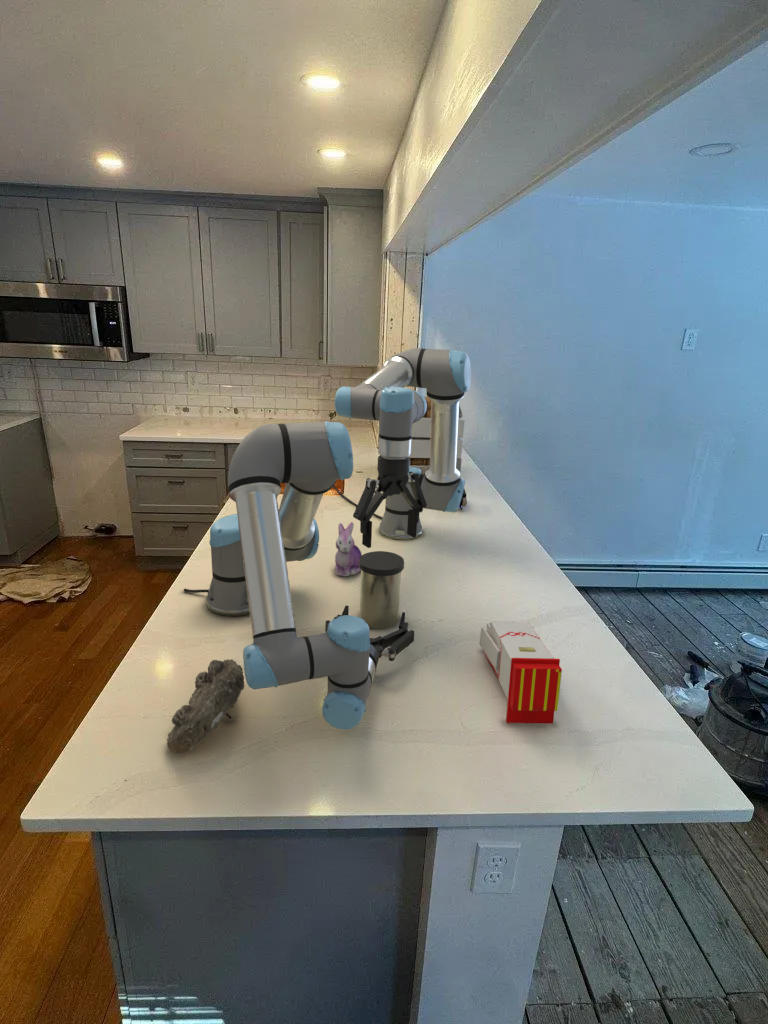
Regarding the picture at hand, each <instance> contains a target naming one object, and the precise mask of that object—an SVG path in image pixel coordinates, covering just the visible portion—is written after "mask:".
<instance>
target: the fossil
mask: <svg viewBox="0 0 768 1024" xmlns="http://www.w3.org/2000/svg"><path fill="white" fill-rule="evenodd" d="M243 670H244V668H243V667H242V665H240V664H237V662H236V661H235V660H234V659H232V658H231V659H227V658H226V659H224V660H223V661H222V660H217V659H212V660H211V661H210V663H209V665H208V666H207V671H201V672H199V673H198V674H197V675H196V676H195V680H194V684H195V685H194V687H195V689H194V690H193V693H192V694H191V697H190V698H189V700H188V704H184V705H182V706H181V707H180V709H177V710H176V711H175V713H174V715H173V716H172V718H171V723H172V724H173V727H172V730H171V731H170V732H168V734H167V738H166V741H167V742H166V745H167V749H168V750H169V751H173V752H174V753H176V754H178V753H182V752H188V751H189V752H192V751H193V750H195V748H196V747H197V746H199V744H200V743H201V742H203V741H204V740H205V739H206V738H207V737H208V736H209V735H210V734H211V733H212V732H214V730H215V729H217V727H218V726H219V724H220V722H221V721H222V720H223V719H224V718H225V716H226V717H227V719H229V720H233V717H232V715H230V714H229V710H230V709H231V708H234V706H235V704H236V703H237V702H238V699H239V697H240V695H241V693H242V691H243V690H245V689H244V688H245V675H244V671H243Z"/></svg>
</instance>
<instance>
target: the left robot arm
mask: <svg viewBox="0 0 768 1024" xmlns="http://www.w3.org/2000/svg"><path fill="white" fill-rule="evenodd" d="M353 472H354V456H353V446H352V441H351V436H350V434H349V430H348V429H347V427H346V426H345V425H344V424H343V423H342V422H338V421H335V422H334V421H328V420H325V421H311V422H291V423H275V422H274V423H265V424H263V425H260V426H258V427H256V428H255V429H253V430H251V431H250V432H249V433H248V434H247V435H245V437H244V438H243V439H242V440H241V442H240V443H239V444H238V446H237V447H236V450H235V451H234V453H233V456H232V458H231V461H230V463H229V467H228V472H227V490H228V496H229V499H230V500H232V501H233V502H234V503H235V504H236V505H235V507H236V513H233V514H229V515H225V516H223V517H220V518H218V519H217V520H215V521H214V522H213V523H212V524H211V526H210V529H209V541H208V543H209V546H210V556H211V557H210V558H211V571H212V572H211V573H212V578H211V582H210V585H209V587H208V589H189V588H184V589H183V592H186V593H189V594H190V593H191V594H197V593H198V594H200V593H201V594H202V593H207V594H206V607H207V609H208V610H209V611H210V612H212V613H214V614H216V615H219V616H225V617H239V616H246V615H249V618H250V626H251V634H252V643H251V644H249V645H246V646H245V647H244V648H243V651H242V660H243V670H244V671H243V672H244V678H245V682H246V684H247V686H248V687H249V688H250V689H251V690H262V689H269V688H279V686H285V685H289V684H295V683H299V682H305V681H309V680H310V681H311V680H315V679H316V680H317V679H322V678H326V677H327V687H326V695H325V696H324V698H323V703H322V708H321V712H322V717H323V719H324V720H325V722H326V723H327V724H328V725H329V726H331V727H333V728H334V729H337V730H343V731H347V730H351V729H354V728H355V727H358V725H360V723H361V721H362V719H363V717H364V714H365V713H366V711H367V703H368V700H369V697H370V696H369V695H370V691H371V689H372V685H373V681H374V678H375V674H376V671H377V668H378V665H379V661H380V659H381V658H382V657H386V658H388V661H389V662H394V661H395V660H396V658H397V656H398V655H399V654H401V653H402V652H403V651H404V650H406V649H407V648H408V647H409V646H410V645H412V644H413V643H414V642H415V630H414V629H410V630H409V622H407V621H406V612H405V611H402V612H401V616H400V620H399V622H398V623H399V624H398V629H396V630H394V631H392V632H389V633H388V634H387V633H386V634H385V635H383V636H382V635H378V636H376V637H371V634H370V627H369V626H368V624H367V623H366V622H365V621H364V620H363V619H361V618H360V616H356V615H350V614H349V611H350V608H349V605H345V606H344V608H343V610H342V613H341V614H337V615H336V616H334V617H333V619H331V620H329V619H327V620H325V622H324V624H325V626H324V632H322V633H316V634H309V635H303V636H298V633H297V625H296V619H295V618H296V617H295V612H294V606H293V599H292V592H291V586H290V579H289V571H288V565H287V563H289V562H296V561H297V562H302V561H305V560H310V559H312V558H314V557H315V556H316V554H317V553H318V549H319V543H320V531H319V526H318V522H317V520H316V519H315V517H316V514H317V512H318V510H319V506H320V504H321V501H322V500H323V497H324V494H327V492H330V491H331V490H332V489H333V488H334V487H333V486H336V483H337V480H341V481H345V480H348V479H350V478H351V477H352V475H353ZM281 484H285V485H284V489H283V493H282V487H281V486H282V485H281ZM281 493H282V497H281V501H280V504H278V497H279V495H281Z"/></svg>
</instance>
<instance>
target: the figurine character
mask: <svg viewBox="0 0 768 1024" xmlns="http://www.w3.org/2000/svg"><path fill="white" fill-rule="evenodd" d="M467 503H468V498H467V492H466V489H465V488H464V491H463V495H462V498H461V502H460V505H459V507H458V509H460V511H463V507H464V508H465V507H467Z"/></svg>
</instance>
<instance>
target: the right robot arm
mask: <svg viewBox="0 0 768 1024" xmlns="http://www.w3.org/2000/svg"><path fill="white" fill-rule="evenodd" d="M471 381H472V366H471V360H470V357H469V355H468V354H467V353H466V352H465V351H461V350H455V349H440V348H439V349H437V348H424V347H416V348H410V349H406V350H403V351H400V352H398V353H395V354H394V355H392V356H390V357H389V358H387V359H386V360H385V361H384V362H383V364H382V365H381V368H379V369H378V370H377V371H375V372H374V373H372V374H371V375H370V376H368V377H367V378H366V379H365V380H363V381H362V382H361V383H359V384H358V385H357V386H351V385H350V386H340V387H339V388H338V389H337V391H336V393H335V397H334V410H335V412H336V414H337V415H338V416H339V417H343V418H349V419H357V420H365V421H366V420H368V421H378V425H379V426H378V451H377V453H378V454H379V455H378V456H377V468H376V469H377V474H378V475H377V477H376V478H375V479H374V478H371V477H370V478H369V477H367V478H366V479H365V486H364V489H363V491H362V494H361V496H360V498H359V501H358V503H355V502H354V501H352V500H351V499H349V498H348V497H347V496H345V495H344V494H343V493H342V492H341V491H340V490H339V489H338V488H337V487H336V485H334V486H333V487H332V488H333V489H334V490H335V491H336V492H337V494H339V496H341V497H342V498H343V499H344V500H346V501H347V502H348V503H350V504H352V505H353V506H354V507H355V510H354V512H353V515H352V517H353V518H354V519H356V520H357V521H359V524H360V526H359V527H360V528H359V532H360V533H361V534H362V535H361V536H362V538H361V539H362V540H361V545H362V546H364V547H365V548H367V549H370V548H372V535H373V521H372V520H371V519H372V518H373V516H374V517H376V518H378V519H380V520H381V522H379V526H378V533H379V534H380V535H381V536H382V537H385V538H387V539H389V540H395V541H410V540H415V539H418V538H420V537H421V536H422V535H423V525H422V524H421V518H420V513H423V511H424V509H425V510H432V511H439V512H443V513H445V512H447V513H456V512H457V511H458V509H459V508H460V507H459V505H460V502H461V498H462V495H463V491H464V489H465V485H466V480H465V479H464V478H462V477H461V474H460V472H459V471H458V470H457V469H456V455H457V435H458V415H459V405H460V401H461V400H462V399H463V398H464V397H465V393H466V392H469V391H470V388H471V384H472V382H471ZM411 388H418V389H426V396H425V395H423V394H422V392H419V391H417V390H413V389H411ZM425 397H428V398H429V399H430V400H431V440H430V466H429V468H428V469H427V470H426V471H425V473H422V469H421V468H419V467H417V466H410V458H409V457H408V456H410V454H411V434H412V424H413V423H415V422H417V421H419V420H420V419H421V418H422V417H423V415H424V414H425V412H426V410H427V402H426V399H425ZM384 500H385V504H384V505H385V507H384V508H385V509H384V513H383V515H382V516H380V515H378V514H376V511H378V508H379V507H380V505H381V504H382V503H383V501H384ZM458 507H459V508H458Z"/></svg>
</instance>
